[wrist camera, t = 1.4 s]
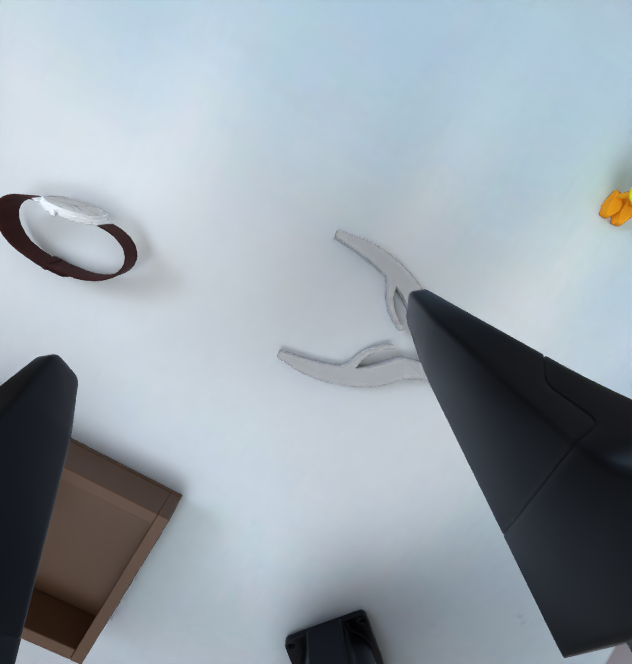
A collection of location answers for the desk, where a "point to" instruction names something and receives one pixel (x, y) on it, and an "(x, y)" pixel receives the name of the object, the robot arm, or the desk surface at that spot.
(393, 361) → the pliers
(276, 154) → the desk surface
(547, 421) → the robot arm
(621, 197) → the toy figure
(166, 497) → the tray
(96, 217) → the watch
